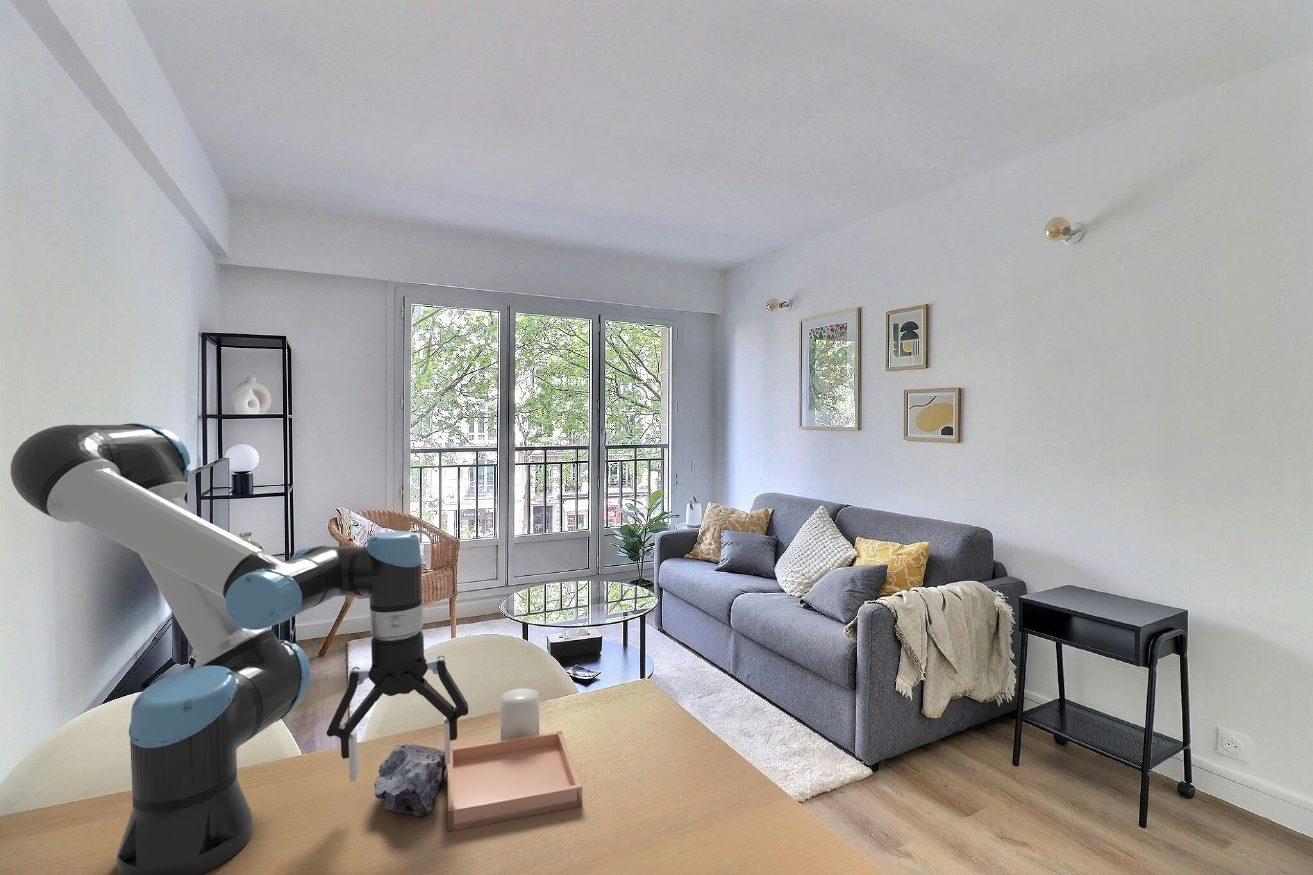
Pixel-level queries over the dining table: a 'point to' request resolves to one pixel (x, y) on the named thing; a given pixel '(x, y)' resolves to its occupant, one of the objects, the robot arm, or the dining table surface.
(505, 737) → the white rounded cylinder
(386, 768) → the rock
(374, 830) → the dining table surface
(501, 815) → the dish
